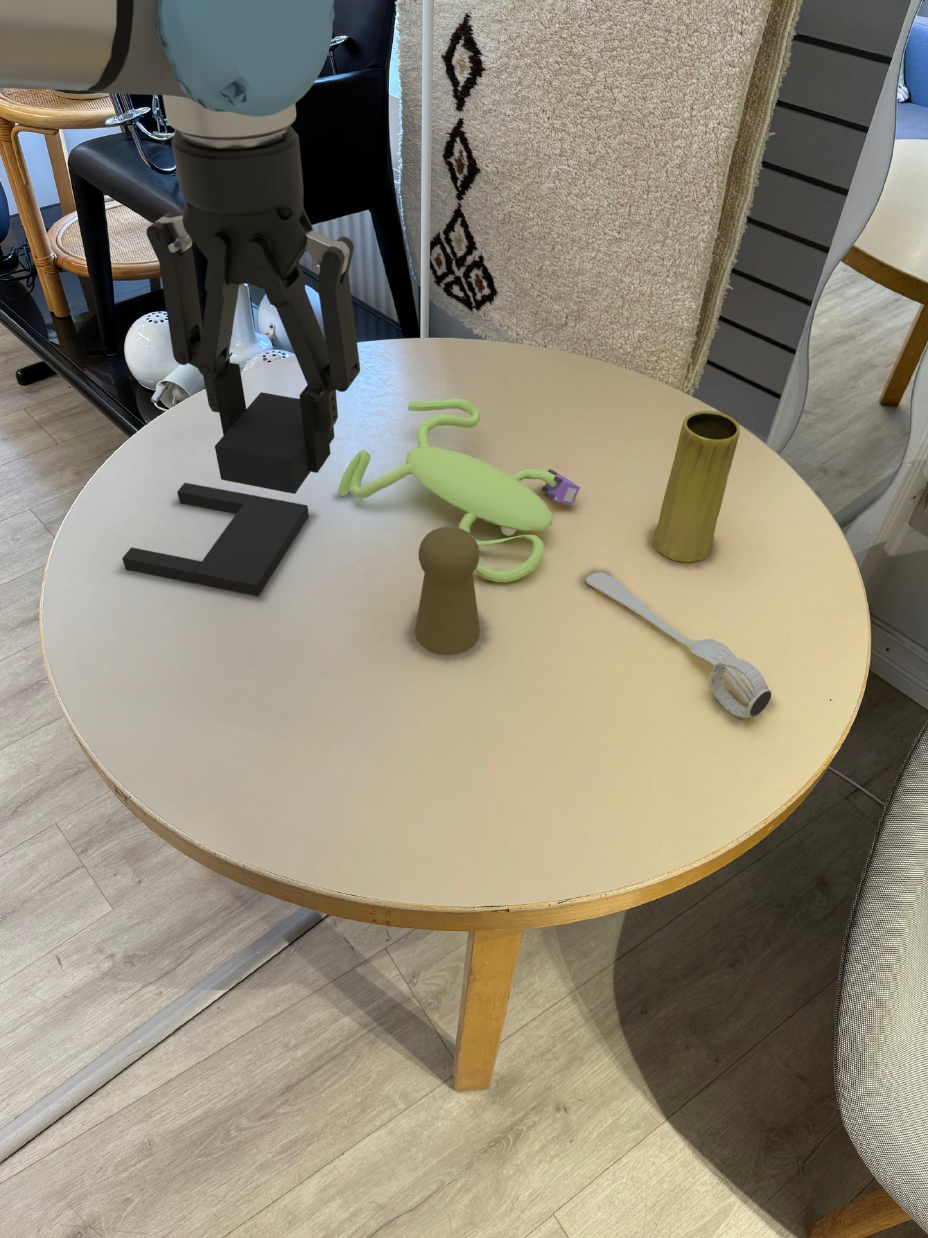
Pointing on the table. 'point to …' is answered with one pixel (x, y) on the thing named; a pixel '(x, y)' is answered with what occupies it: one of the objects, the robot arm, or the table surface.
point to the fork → (669, 628)
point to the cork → (448, 592)
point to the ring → (756, 679)
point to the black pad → (231, 542)
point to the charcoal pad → (266, 445)
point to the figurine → (471, 486)
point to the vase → (696, 486)
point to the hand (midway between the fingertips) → (279, 454)
